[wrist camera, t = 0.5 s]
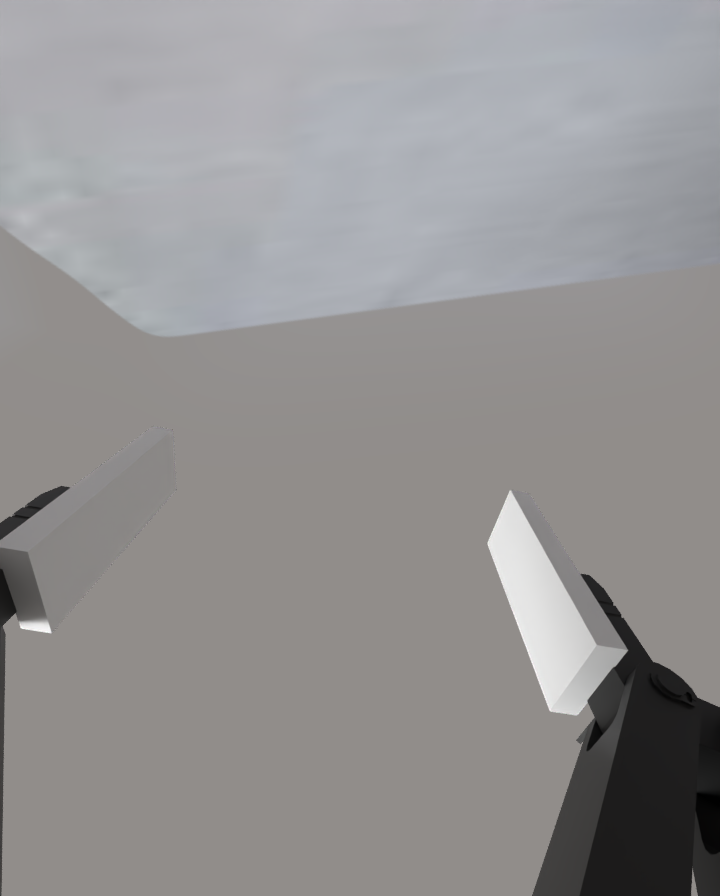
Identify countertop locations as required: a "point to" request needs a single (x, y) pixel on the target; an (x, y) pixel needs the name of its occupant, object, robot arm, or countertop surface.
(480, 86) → the countertop surface
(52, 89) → the countertop surface
